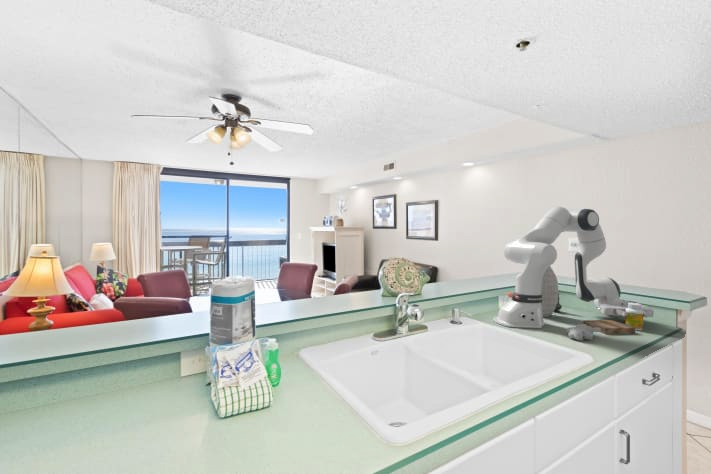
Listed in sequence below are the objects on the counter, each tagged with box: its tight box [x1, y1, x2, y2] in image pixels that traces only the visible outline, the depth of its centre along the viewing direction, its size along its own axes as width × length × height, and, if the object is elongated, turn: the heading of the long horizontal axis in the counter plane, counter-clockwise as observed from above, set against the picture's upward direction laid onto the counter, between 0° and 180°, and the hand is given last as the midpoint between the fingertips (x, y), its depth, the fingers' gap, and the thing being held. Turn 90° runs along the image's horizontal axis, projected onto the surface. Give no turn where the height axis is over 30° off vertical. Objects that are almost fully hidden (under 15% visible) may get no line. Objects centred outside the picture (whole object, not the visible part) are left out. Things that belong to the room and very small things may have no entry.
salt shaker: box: [553, 291, 563, 314], centre depth 177 cm, size 6×6×12 cm
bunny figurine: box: [566, 323, 602, 342], centre depth 136 cm, size 10×5×15 cm
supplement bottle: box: [624, 303, 644, 331], centre depth 148 cm, size 6×6×11 cm
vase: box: [541, 265, 559, 318], centre depth 169 cm, size 13×13×28 cm
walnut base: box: [582, 319, 636, 335], centre depth 146 cm, size 14×12×2 cm
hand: (636, 314), depth 146 cm, fingers open, 6 cm apart
